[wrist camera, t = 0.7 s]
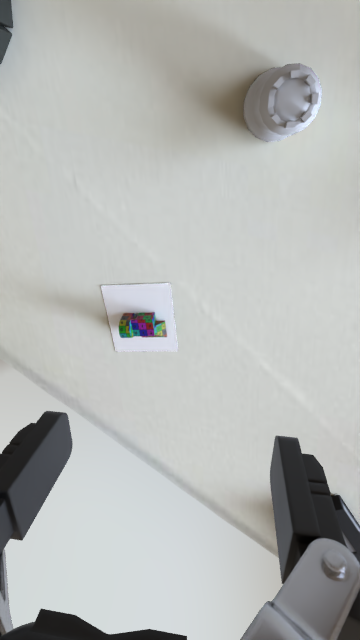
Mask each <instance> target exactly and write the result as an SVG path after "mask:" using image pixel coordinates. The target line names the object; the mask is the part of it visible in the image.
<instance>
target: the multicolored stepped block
mask: <svg viewBox="0 0 360 640" xmlns="http://www.w3.org/2000/svg"><path fill="white" fill-rule="evenodd" d="M101 290H102V294H103V298H104V303H105V307H106V311H107V316H108V320H109V324H110V329H111V333H112V337H113V342H114V346H115V350H116V351H178V343H177V335H176V326H175V318H174V309H173V301H172V292H171V284H170V283H156V284H129V285H103V286H101Z"/></svg>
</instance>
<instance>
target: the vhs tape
mask: <svg viewBox="0 0 360 640" xmlns="http://www.w3.org/2000/svg"><path fill="white" fill-rule="evenodd" d="M332 500H333V504H334V507H335V510H336V514H337V517H338V520H339V524H340V527H341V530H342V534H343V537H344V540H345V543H346V545H347V547H348V549H349V550H350V551H351V552H352V553H353V554H354V556H355V557H356V558H357V560H358V562H359V563H360V526H359V524H358V523H357V521H356V520H355V518H354V517H353V515H352V513H351V512H350V510H349V509H348V507H347V506H346V504H345V503H344V501H343V500H342V498H341V497H340V496H339V495H336V496H332Z"/></svg>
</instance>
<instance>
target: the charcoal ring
mask: <svg viewBox="0 0 360 640" xmlns="http://www.w3.org/2000/svg"><path fill="white" fill-rule="evenodd" d="M4 26H5V27H11V28H13V21H12V9H11V0H0V64H1V63H2V60H3V57H4V55H5V52H6V49H7V47H8V44H9V42H10V39H11V36H12V33H11V32H9V31H8V30H7V29H6V28H5V27H4Z"/></svg>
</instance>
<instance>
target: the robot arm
mask: <svg viewBox="0 0 360 640" xmlns="http://www.w3.org/2000/svg"><path fill="white" fill-rule="evenodd" d="M71 451H72V438H71V432H70V426H69V420H68V415H67V414H66V413H62V412H53V411H46V412H45V413H44V414H43V415H42V416H41V417H40V419H39V420H38V421H37V423H31V424H29V425H27V426H26V427H25V428H23V429H22V430H20V431H19V432H18V433H17V434H16V435H15V437H14V438H13V439H12V440H11V442H10V444H9V445H7V446H6V448H5V449H4V450H3V452H2V454H0V640H187V636H183V635H178V634H172V633H167V632H162V631H157V630H151V629H147V630H140V631H133V632H126V633H119V634H111V635H110V634H106V633H104V632H102V631H101V630H99V629H97V628H96V627H94V626H92V625H91V624H89V623H87V622H86V621H84V620H82V619H81V618H79V617H77V616H75V615H72V614H66V613H61V612H56V611H50V610H45V609H41V610H40V612H39V614H38V617H37V619H36V621H35V622H32V623H28V624H25V625H22V626H20V627H17V628H15V629H13V625H12V620H11V616H10V610H9V598H8V584H7V570H6V557H5V550H4V548H5V546H6V544H7V542H8V541H9V539H17V540H23V538H24V537H25V535H26V533H27V531H28V529H29V528H30V526H31V524H32V523H33V521H34V519H35V517H36V516H37V514H38V512H39V510H40V509H41V507H42V505H43V503H44V501H45V500H46V498H47V496H48V494H49V493H50V491H51V489H52V487H53V486H54V484H55V482H56V480H57V478H58V477H59V475H60V473H61V472H62V470H63V468H64V466H65V465H66V463H67V461H68V459H69V457H70V454H71ZM270 484H271V493H272V502H273V510H274V519H275V528H276V536H277V545H278V553H279V562H280V570H281V579H282V584H283V586H282V587H281V589H280V590H279V592H278V593H277V595H276V597H275V598H274V599H273V600H272V601H271V602H270V601H268V602H266V603H265V604H264V606H263V607H262V608H261V610H260V611H259V612H258V614H257V615H256V617H255V618H254V620H253V621H252V623H251V624H250V626H249V627H248V629H247V630H246V632H245V633H244V635H243V637H242V638H241V639H240V640H360V563H359V562H358V560H357V558H356V557H355V556H354V554H353V553H352V552H351V551H350V550H349V549H348V547H347V545H346V543H345V540H344V537H343V534H342V530H341V527H340V524H339V520H338V517H337V514H336V510H335V507H334V504H333V500H332V497H331V496H330V490H329V487H328V484H327V480H326V477H325V473H324V470H323V467H322V466H321V465H320V463H319V462H318V461H317V459H316V458H315V457H314V456H313V455H309V454H302V453H301V449H300V445H299V441H298V438H294V437H284V436H276V437H275V442H274V448H273V454H272V461H271V468H270Z"/></svg>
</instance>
